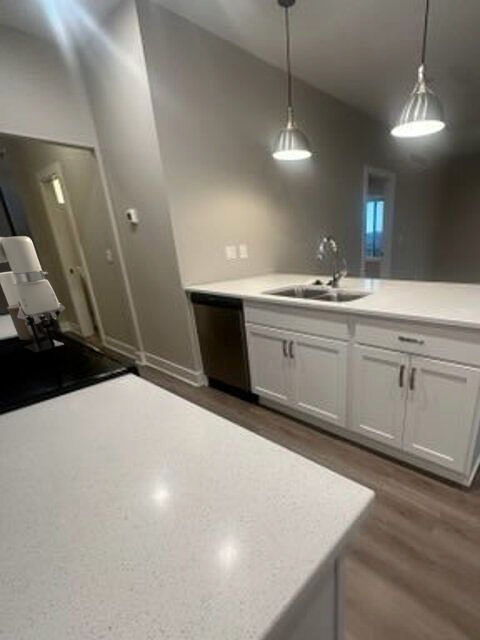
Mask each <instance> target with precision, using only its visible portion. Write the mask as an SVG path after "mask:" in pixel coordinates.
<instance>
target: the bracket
mask: <svg viewBox="0 0 480 640" xmlns="http://www.w3.org/2000/svg"><path fill="white" fill-rule="evenodd" d="M38 318H40V320H43V319H47V318H46V315H44V314H42V315H38ZM25 324H26V326H27V328H28V331H29V333H30V336H31V339H30V340H31V341H32V344H28V345H24V348H26V349H28V350H30V351H33V352H35V353H39V352H42V351H46V350H50V349H53V348H57V347H60V346H64V345H65V343H63V342H61V341H58V340H56V339H53V336H52V333H51V330H50V328H47V329H46V328H44V331H45V335H44V336H43V337H44V339H45V340H43V341H41V340H40V338H38V335H37V333H36V330H35V327H34V324H33V322H30V321H28V320H25Z"/></svg>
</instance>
